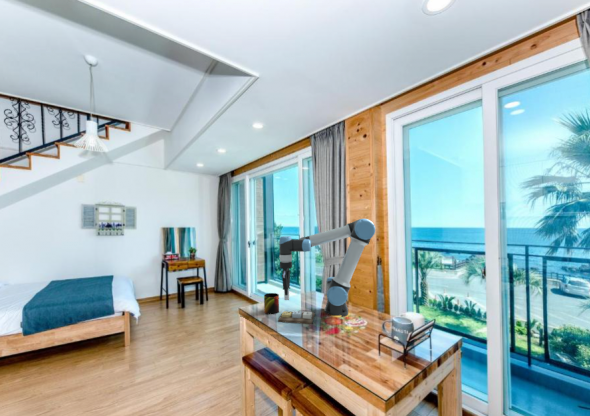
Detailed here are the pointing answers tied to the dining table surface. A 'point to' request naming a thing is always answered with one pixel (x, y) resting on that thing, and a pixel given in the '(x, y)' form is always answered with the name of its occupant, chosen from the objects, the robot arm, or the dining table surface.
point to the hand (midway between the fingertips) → (286, 299)
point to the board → (296, 319)
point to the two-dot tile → (297, 314)
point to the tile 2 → (307, 315)
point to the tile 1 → (286, 314)
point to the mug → (271, 303)
